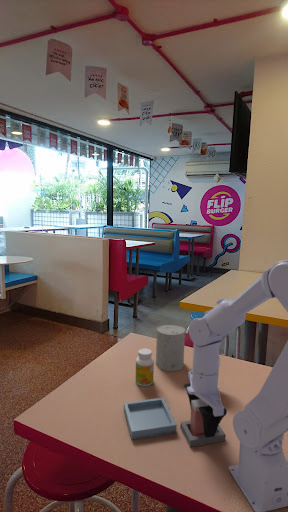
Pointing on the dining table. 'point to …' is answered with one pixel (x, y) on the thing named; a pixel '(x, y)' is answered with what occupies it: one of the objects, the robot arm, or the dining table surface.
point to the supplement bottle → (144, 367)
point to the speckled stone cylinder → (170, 347)
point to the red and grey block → (197, 418)
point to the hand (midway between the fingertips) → (202, 424)
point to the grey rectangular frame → (201, 438)
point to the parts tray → (149, 418)
